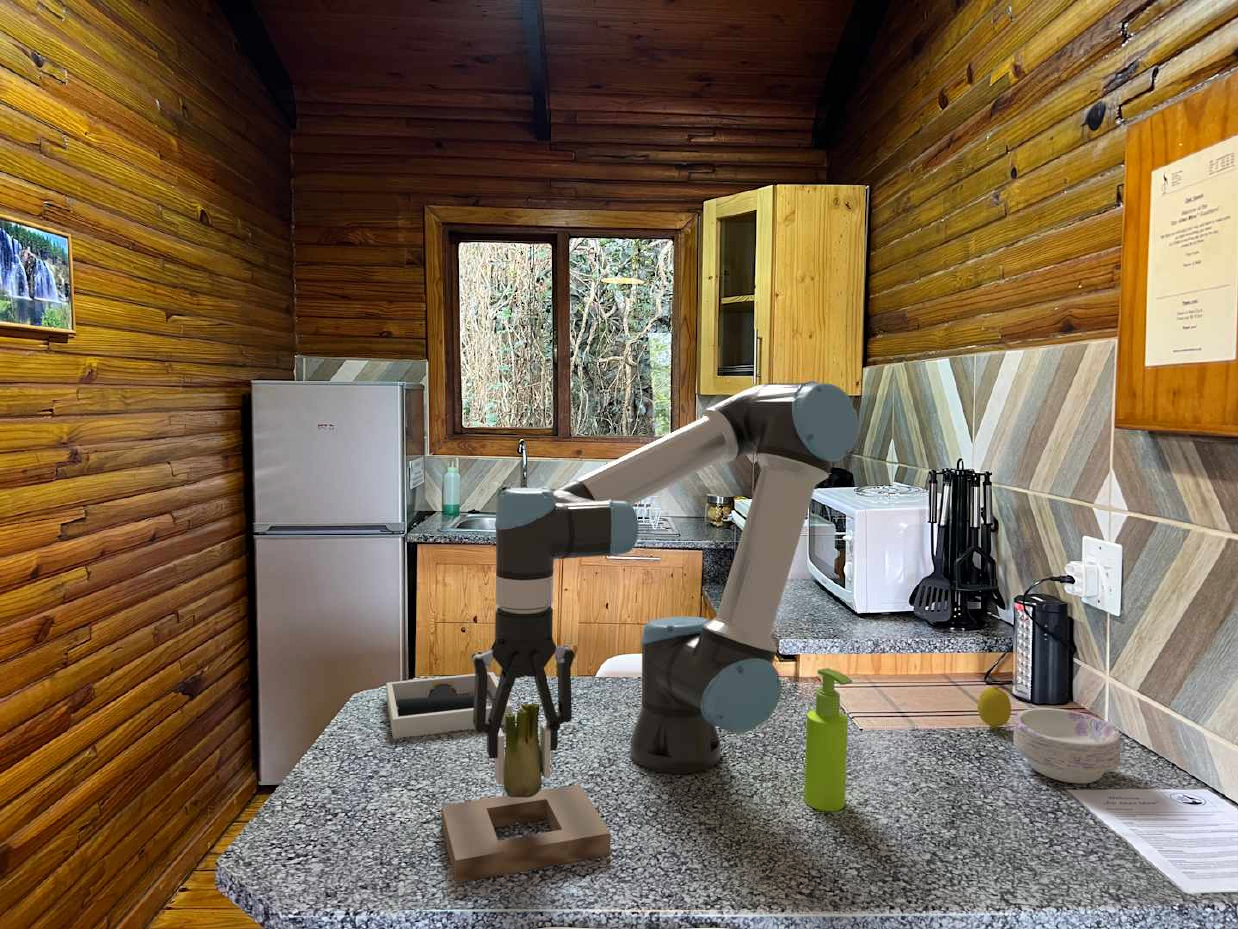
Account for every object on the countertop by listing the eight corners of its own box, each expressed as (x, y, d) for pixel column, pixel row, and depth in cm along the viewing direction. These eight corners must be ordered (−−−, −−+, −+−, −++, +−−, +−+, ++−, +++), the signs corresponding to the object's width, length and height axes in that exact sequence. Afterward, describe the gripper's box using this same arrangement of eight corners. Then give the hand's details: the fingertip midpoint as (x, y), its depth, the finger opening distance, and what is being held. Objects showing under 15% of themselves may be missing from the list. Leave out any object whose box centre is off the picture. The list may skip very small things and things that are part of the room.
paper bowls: (991, 759, 135) (993, 713, 134) (1054, 745, 141) (1057, 701, 140) (1074, 801, 121) (1077, 750, 120) (1140, 783, 127) (1144, 735, 126)
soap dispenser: (827, 818, 115) (832, 682, 113) (796, 797, 121) (800, 667, 119) (858, 809, 118) (863, 676, 116) (825, 788, 124) (830, 661, 122)
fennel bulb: (505, 806, 104) (506, 716, 103) (495, 789, 109) (496, 702, 108) (548, 798, 106) (549, 709, 106) (537, 781, 111) (538, 697, 110)
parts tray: (493, 688, 164) (493, 672, 164) (512, 724, 146) (512, 705, 146) (386, 700, 157) (386, 682, 157) (393, 739, 140) (392, 719, 139)
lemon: (1009, 726, 149) (1011, 684, 148) (1010, 737, 144) (1012, 693, 143) (976, 720, 151) (979, 679, 150) (976, 731, 146) (978, 688, 145)
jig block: (579, 804, 118) (579, 784, 118) (610, 855, 105) (610, 833, 105) (441, 826, 111) (441, 805, 111) (455, 883, 98) (455, 860, 98)
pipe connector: (403, 681, 154) (482, 677, 157) (403, 707, 155) (482, 703, 157) (397, 704, 143) (482, 700, 145) (397, 733, 143) (482, 728, 146)
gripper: (583, 595, 112) (580, 756, 114) (449, 603, 106) (448, 773, 108) (599, 608, 105) (596, 779, 107) (457, 618, 99) (456, 800, 101)
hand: (522, 776), depth 107 cm, fingers closed on fennel bulb, 5 cm apart
